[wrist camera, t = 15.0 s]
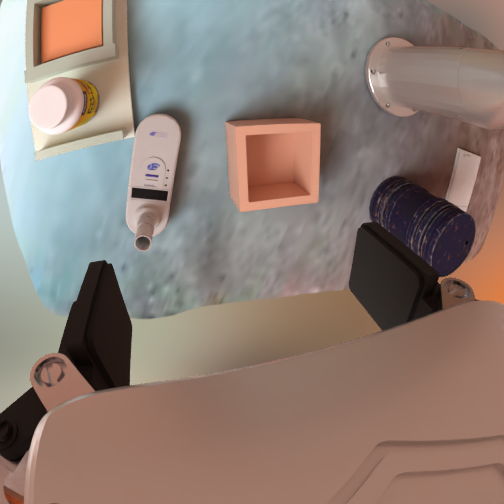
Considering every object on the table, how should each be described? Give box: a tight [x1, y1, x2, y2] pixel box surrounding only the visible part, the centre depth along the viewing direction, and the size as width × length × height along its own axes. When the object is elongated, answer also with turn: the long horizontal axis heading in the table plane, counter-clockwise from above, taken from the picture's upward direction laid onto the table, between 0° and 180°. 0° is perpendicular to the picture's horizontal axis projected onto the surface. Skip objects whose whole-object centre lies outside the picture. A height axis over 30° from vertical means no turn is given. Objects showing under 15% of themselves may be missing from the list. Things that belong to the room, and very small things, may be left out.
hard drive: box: [445, 148, 481, 212], centre depth 48 cm, size 2×8×12 cm
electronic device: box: [126, 114, 181, 252], centre depth 31 cm, size 5×10×15 cm
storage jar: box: [369, 176, 476, 277], centre depth 40 cm, size 10×10×15 cm
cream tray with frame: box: [25, 0, 135, 161], centre depth 24 cm, size 13×21×3 cm, turn 3°
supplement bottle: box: [29, 77, 100, 135], centre depth 23 cm, size 6×6×10 cm
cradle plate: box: [42, 0, 104, 63], centre depth 22 cm, size 8×8×1 cm
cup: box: [225, 118, 321, 212], centre depth 35 cm, size 10×10×6 cm
